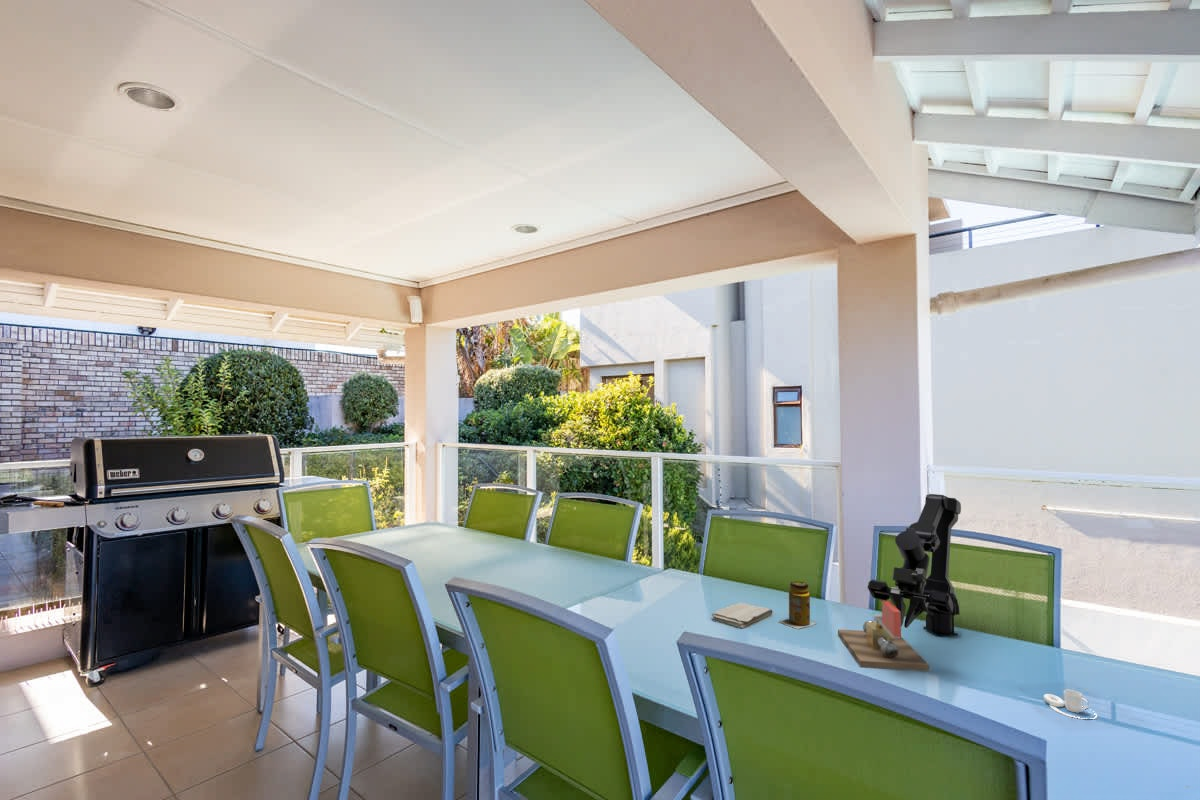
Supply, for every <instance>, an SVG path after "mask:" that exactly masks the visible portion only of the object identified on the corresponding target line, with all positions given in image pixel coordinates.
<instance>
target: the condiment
mask: <svg viewBox="0 0 1200 800" xmlns="http://www.w3.org/2000/svg"><path fill="white" fill-rule="evenodd" d="M789 585H790V587H789V591H788V618H785V619H782V620H779V621H778V622H779V623H781V624H783V625H786V626H788V627H791V628H794V629H796V630H800V629H802V628H803V629H804V628H806V627H807V628H808V627H811V626H813V625H814V626H815V625H817V623H816V622H812V621H811V614H810V613H811V609H810V608H811V602H810V600H811V599H810V598H811V597H810V592H809V583H808V582H805V581H797V580H796V581H794V580H793V581H791V582H790V583H789Z"/></svg>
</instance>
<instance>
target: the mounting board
mask: <svg viewBox="0 0 1200 800" xmlns="http://www.w3.org/2000/svg"><path fill="white" fill-rule="evenodd" d="M837 635H838V637H839V638H840V640H841V641H842V643H843V644H844V645H845V647H846V648H847V650H848V651H849V652H850V654H851V655H852V657H853V658H854V660H855V661H856V662H857V664H858V666H859V665H860V666H859V667H860V668H869V667H870V669H871V668H873V669H887V670H892V669H893V670H904V671H905V670H906V671H907V670H908V671H920V672H922V671H923V672H930V664H929V663H928V662H927V661H926V660H925V659H924V658H923V657H922V656H921V655H920V654H919V653H918V652H917V651H916V650H915V648H913V647H912V646H911V645H910V644H909V642H907V641H906V640H905V639H904V638H903V637H902V636H901V637H900V638H894V643H895V644H896V645H897V647H898V649H899V652H898V654H897V656H896V657H894V658H888V657H886V656H885V655H884V654H882V653H881V652H880V651H879V650H875V649H872V648H871V646H870V645H869V644H868V643H867V641H866V633H865V632H864V630H857V629H856V630H855V629H852V630H851V629H837Z"/></svg>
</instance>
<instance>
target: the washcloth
mask: <svg viewBox="0 0 1200 800" xmlns="http://www.w3.org/2000/svg"><path fill="white" fill-rule="evenodd" d="M711 616H712V618H711V620H712V621H715V622H718V623H720V624H724V625H728V626H730V627H734V628H738V629H745V628H748V627H751V626H753V625H756V624H758V623H760V622H761V621H764V620H766V619H768V618H770V617H772V616H773V609H770V608H766V607H763V606H757V605H752V604H749V603H744V602H737V603H736V604H732V605H729V606H727V607H724V608H721V609H719V610H716V611H714V612H712V613H711Z"/></svg>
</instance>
